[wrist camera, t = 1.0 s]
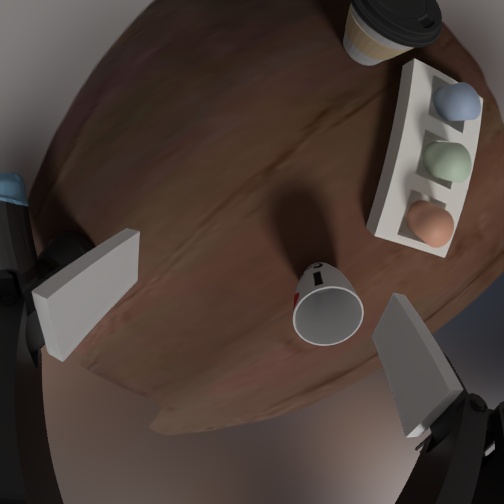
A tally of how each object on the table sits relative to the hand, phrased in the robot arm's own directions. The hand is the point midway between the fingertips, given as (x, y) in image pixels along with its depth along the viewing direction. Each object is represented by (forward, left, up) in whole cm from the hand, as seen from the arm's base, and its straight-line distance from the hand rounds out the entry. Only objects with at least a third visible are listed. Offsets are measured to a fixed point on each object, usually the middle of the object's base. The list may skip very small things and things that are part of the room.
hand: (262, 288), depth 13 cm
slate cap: (+19, +19, -21) cm, 34 cm away
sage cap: (+19, +11, -21) cm, 30 cm away
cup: (+9, -10, -25) cm, 28 cm away
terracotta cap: (+19, +3, -21) cm, 28 cm away
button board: (+19, +11, -24) cm, 33 cm away
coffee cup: (+7, +24, -25) cm, 35 cm away
